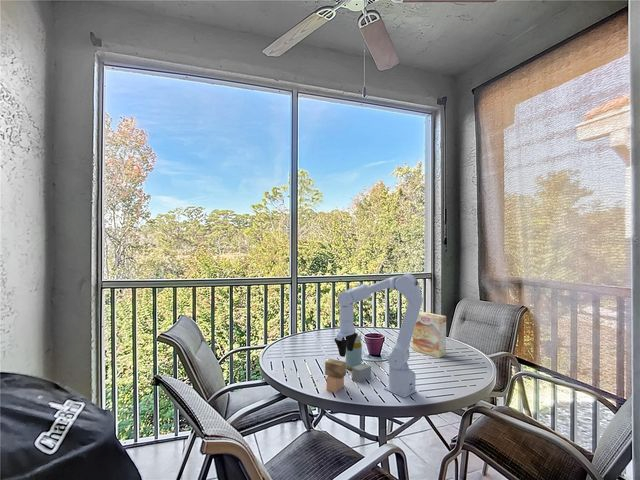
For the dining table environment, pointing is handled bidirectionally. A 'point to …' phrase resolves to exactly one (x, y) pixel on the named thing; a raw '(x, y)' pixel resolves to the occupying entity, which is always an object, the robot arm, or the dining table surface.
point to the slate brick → (361, 372)
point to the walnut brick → (335, 368)
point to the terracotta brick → (334, 383)
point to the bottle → (354, 354)
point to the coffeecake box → (430, 334)
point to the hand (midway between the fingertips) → (346, 353)
